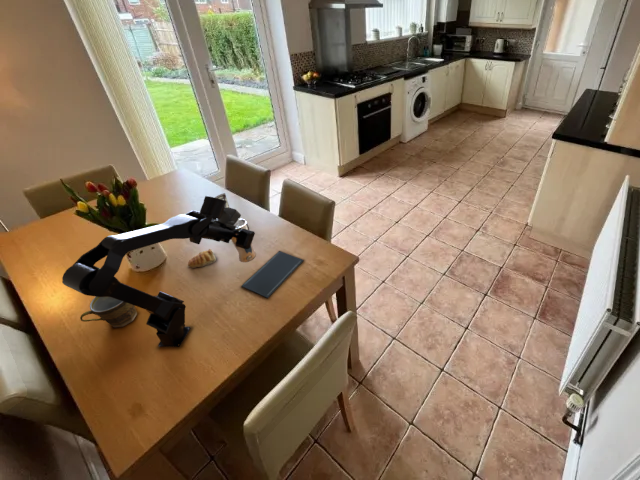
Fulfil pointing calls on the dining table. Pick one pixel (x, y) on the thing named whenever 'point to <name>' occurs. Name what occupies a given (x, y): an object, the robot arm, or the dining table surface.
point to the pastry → (202, 259)
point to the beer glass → (244, 254)
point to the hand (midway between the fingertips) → (244, 236)
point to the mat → (272, 274)
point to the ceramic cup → (111, 311)
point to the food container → (223, 198)
